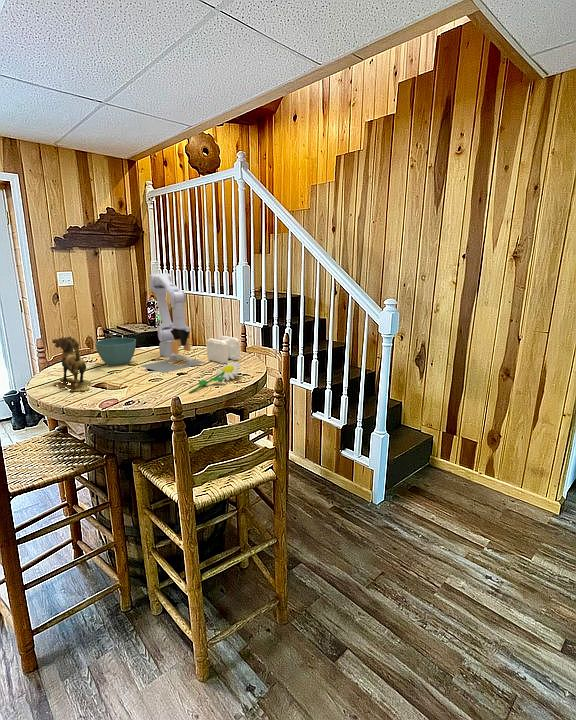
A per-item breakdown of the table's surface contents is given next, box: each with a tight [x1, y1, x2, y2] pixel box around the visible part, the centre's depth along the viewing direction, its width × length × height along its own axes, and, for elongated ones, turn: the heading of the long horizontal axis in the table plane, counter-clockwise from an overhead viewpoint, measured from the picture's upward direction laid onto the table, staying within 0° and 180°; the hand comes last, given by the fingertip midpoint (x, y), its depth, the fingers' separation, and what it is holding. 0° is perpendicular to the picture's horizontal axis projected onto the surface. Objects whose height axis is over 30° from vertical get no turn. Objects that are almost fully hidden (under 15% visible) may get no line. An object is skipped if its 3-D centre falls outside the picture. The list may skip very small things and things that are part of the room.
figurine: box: [51, 336, 92, 393], centre depth 167 cm, size 13×25×20 cm, turn 42°
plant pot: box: [94, 337, 137, 367], centre depth 199 cm, size 18×18×12 cm
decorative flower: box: [188, 361, 242, 394], centre depth 171 cm, size 13×5×30 cm
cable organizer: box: [206, 335, 240, 365], centre depth 207 cm, size 15×11×12 cm
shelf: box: [140, 353, 207, 374], centre depth 196 cm, size 20×24×5 cm
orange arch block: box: [171, 337, 192, 355], centre depth 198 cm, size 4×8×6 cm, turn 139°
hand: (181, 344), depth 198 cm, fingers closed on orange arch block, 4 cm apart
